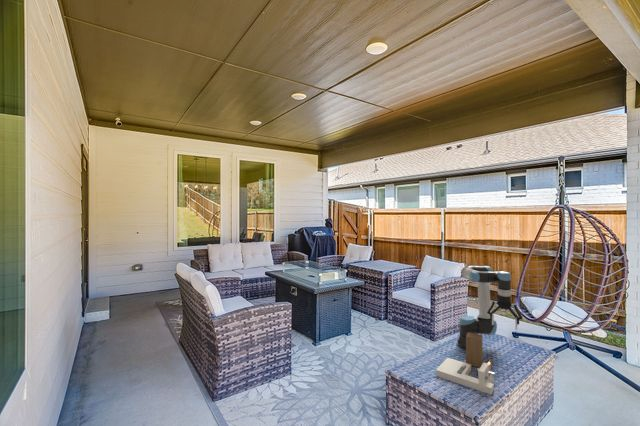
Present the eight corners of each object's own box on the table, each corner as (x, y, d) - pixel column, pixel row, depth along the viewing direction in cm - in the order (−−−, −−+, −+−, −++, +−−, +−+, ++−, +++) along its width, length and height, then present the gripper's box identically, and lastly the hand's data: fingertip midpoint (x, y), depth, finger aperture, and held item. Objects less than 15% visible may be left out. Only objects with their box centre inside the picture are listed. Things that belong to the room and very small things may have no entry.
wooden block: (467, 358, 228) (467, 331, 228) (482, 361, 223) (482, 334, 223) (466, 364, 220) (465, 336, 220) (481, 368, 215) (481, 339, 214)
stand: (447, 363, 222) (447, 347, 222) (499, 379, 201) (499, 361, 201) (436, 375, 206) (436, 358, 206) (491, 394, 184) (491, 375, 184)
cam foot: (492, 387, 191) (492, 373, 191) (475, 382, 197) (475, 368, 197) (498, 375, 205) (498, 361, 205) (482, 370, 211) (482, 357, 211)
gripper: (482, 293, 210) (482, 324, 210) (526, 299, 195) (526, 332, 195) (484, 291, 216) (484, 321, 216) (527, 297, 201) (527, 329, 201)
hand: (504, 326), depth 206 cm, fingers open, 13 cm apart
